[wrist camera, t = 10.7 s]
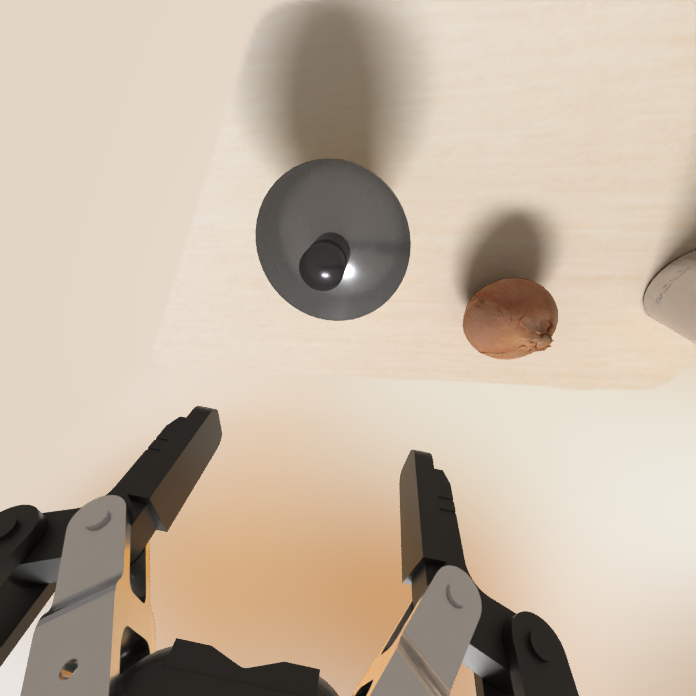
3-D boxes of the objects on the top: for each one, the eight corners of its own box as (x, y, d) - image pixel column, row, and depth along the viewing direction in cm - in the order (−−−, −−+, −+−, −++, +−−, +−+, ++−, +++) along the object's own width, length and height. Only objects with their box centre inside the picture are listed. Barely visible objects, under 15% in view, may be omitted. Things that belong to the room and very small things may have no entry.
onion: (518, 290, 37) (595, 326, 29) (468, 343, 39) (527, 389, 32) (487, 249, 31) (573, 280, 24) (431, 314, 34) (493, 362, 26)
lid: (428, 172, 20) (441, 176, 16) (391, 325, 28) (392, 357, 23) (254, 146, 21) (217, 143, 16) (264, 304, 28) (240, 332, 23)
